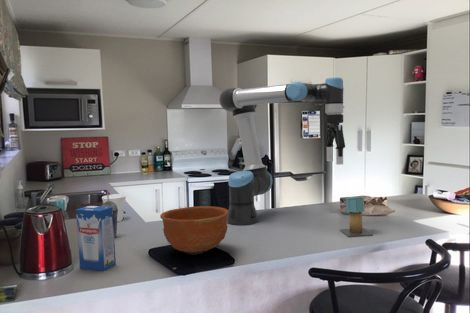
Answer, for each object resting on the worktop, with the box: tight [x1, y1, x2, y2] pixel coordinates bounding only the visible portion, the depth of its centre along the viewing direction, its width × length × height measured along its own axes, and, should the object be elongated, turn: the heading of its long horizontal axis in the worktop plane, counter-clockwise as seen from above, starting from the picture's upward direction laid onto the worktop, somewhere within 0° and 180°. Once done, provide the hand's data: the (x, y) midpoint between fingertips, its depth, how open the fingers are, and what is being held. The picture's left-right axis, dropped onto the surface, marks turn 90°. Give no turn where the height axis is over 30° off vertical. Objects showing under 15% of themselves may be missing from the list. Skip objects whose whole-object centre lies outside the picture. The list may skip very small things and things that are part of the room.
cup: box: [101, 193, 127, 223], centre depth 202 cm, size 12×12×12 cm
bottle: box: [339, 212, 374, 238], centre depth 164 cm, size 10×10×13 cm
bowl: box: [159, 205, 229, 253], centre depth 146 cm, size 25×25×15 cm
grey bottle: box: [101, 190, 118, 239], centre depth 170 cm, size 7×7×20 cm
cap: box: [345, 196, 365, 213], centre depth 165 cm, size 7×7×6 cm
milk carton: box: [75, 205, 117, 272], centre depth 135 cm, size 10×6×20 cm, turn 69°
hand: (334, 162), depth 176 cm, fingers open, 13 cm apart
